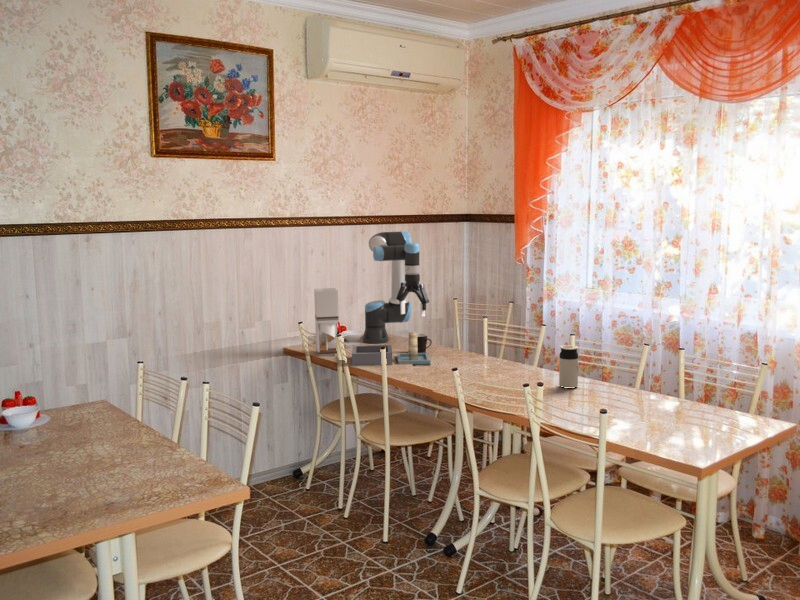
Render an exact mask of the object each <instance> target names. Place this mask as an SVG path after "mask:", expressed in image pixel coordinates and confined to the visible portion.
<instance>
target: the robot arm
mask: <svg viewBox="0 0 800 600" xmlns="http://www.w3.org/2000/svg"><path fill="white" fill-rule="evenodd" d="M368 247H369V249H370V251H371V252H372V257H373V261H374V262H382V261H383V262H386V261H390V262H391V284H390V285H391V290H390V291H391V292H390V295H391V296H390V297H389V298H388V302H386V301H385V300H383V299H382V300H374V301H370V302H367V303H366V304H365V305H364V317H365V318H364V321H365V322H364V327H365V328H364V332H363V335H362V342H363V343H366V344H384V343H387V342H389V335H388V332H387V329H386V324H393V323H397V324H398V323H400V324H401V323H408V322H409V321H410V320H411V314H412V303H411V302H410V300H409V298H407V296H408V295H409V293H413V294H415V295H416V297H417V298H418V300H419V301H420V304H419V305H420V309H419V310H420V318H422V317H426V310H427V304H428V303H430V299H429V296H428V294H427V292H426V288H425V284H424V283H420V279H421V276H420V275H421V274H420V273H421V272H420V267H421V266H420V250H421V249H420V243H418V242H413V241H412V237H411V234H410V232H409V231H402V230H401V231H381V232H378V233H376V234H374V235H372V236H371V237H370V238H369V241H368Z"/></svg>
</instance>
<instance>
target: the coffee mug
mask: <svg viewBox="0 0 800 600" xmlns="http://www.w3.org/2000/svg"><path fill="white" fill-rule="evenodd" d="M427 341H429V342H430V344H429V345H428V346H427V343H428V342H427ZM417 344H418V353H427V349H428V348H430V347H431V345H432V340H431V339H430V338H428V334H426V333H417Z"/></svg>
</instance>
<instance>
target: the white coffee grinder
mask: <svg viewBox="0 0 800 600" xmlns="http://www.w3.org/2000/svg"><path fill="white" fill-rule="evenodd" d="M336 289H337V288H336V287H330V288H329V287H328V288H327V287H326V288H325V287H324V288H314V289H313V291H314V319H315V320H314V323H315V349H316V350H315V351H316V356H317V357H331V356H332V357H333V356H335V355H337V351H336V344H335V336H336V334H337V335H338V329H337V328H338V327H337V325H338V323H339V294H338V293H339V292H338V291H339V290H338V289H337V290H336Z"/></svg>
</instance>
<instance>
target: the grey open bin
mask: <svg viewBox="0 0 800 600" xmlns="http://www.w3.org/2000/svg"><path fill="white" fill-rule="evenodd" d="M381 346H385V347H386V359H387V365H386V366H393V349H392V348H393V347H392V344H377V345H376V344H373V345H372V344H367V345H365V344H364V345H352V351H351V365H352V367H353V366H354V367H357V366H358V367H359V366H382V365H381V352H380V347H381Z"/></svg>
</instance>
